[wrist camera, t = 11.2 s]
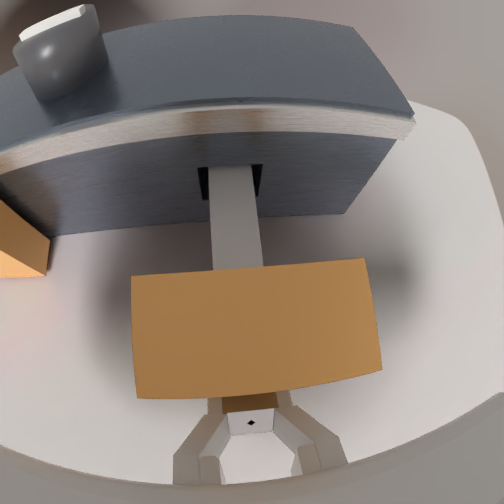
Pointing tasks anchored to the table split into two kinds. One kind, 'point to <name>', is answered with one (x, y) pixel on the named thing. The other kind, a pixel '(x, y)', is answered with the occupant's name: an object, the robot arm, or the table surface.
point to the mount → (201, 124)
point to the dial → (61, 52)
